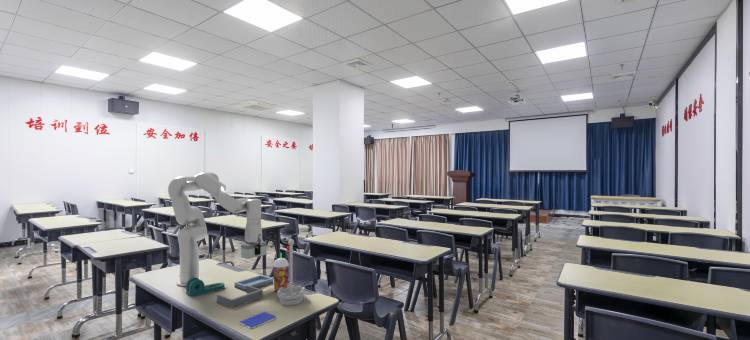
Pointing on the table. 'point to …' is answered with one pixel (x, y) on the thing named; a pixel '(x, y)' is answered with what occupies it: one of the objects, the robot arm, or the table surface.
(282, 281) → the smoothie
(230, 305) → the bay
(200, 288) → the bracket
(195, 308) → the table surface
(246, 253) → the gray rectangular block
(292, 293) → the flag stand
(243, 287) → the tray
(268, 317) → the hard drive
